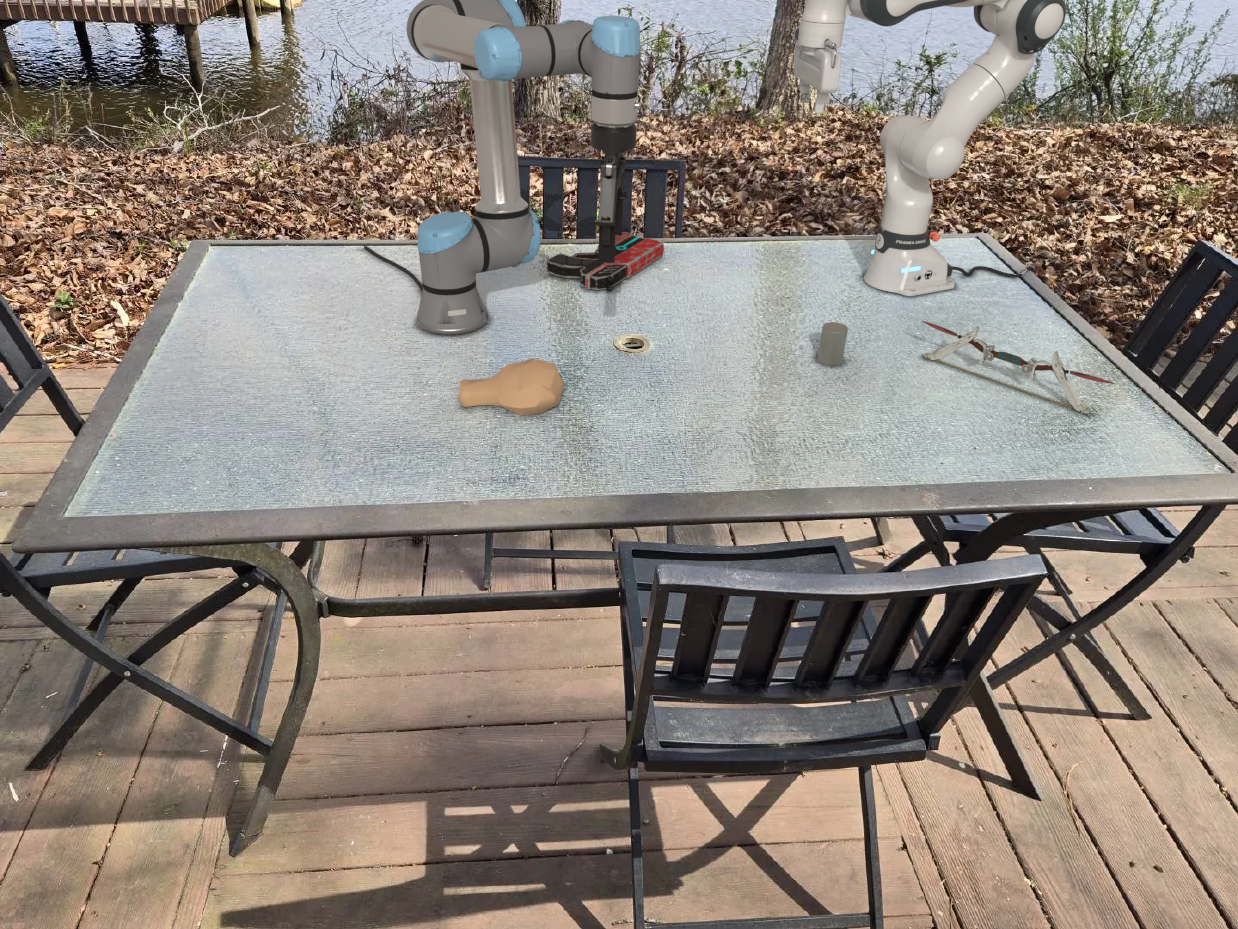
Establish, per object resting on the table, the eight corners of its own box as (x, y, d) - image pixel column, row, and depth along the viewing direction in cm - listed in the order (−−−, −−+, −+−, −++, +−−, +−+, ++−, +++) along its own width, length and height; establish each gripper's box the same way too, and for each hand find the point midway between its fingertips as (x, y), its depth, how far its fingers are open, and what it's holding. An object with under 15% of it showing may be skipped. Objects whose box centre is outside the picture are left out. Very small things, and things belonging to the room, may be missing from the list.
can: (828, 367, 183) (834, 334, 179) (812, 357, 187) (817, 324, 182) (847, 362, 185) (853, 329, 181) (830, 352, 189) (836, 320, 185)
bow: (1102, 416, 168) (1120, 369, 163) (1099, 419, 167) (1116, 372, 162) (916, 351, 190) (927, 308, 184) (912, 354, 189) (923, 311, 183)
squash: (565, 421, 162) (558, 383, 156) (459, 429, 164) (448, 392, 158) (568, 385, 170) (561, 347, 164) (467, 393, 172) (456, 356, 165)
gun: (540, 260, 217) (606, 279, 209) (606, 224, 239) (668, 240, 231) (540, 277, 220) (606, 296, 212) (605, 240, 242) (667, 256, 234)
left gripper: (630, 143, 133) (625, 275, 145) (642, 106, 154) (637, 225, 166) (581, 140, 134) (580, 272, 146) (600, 104, 154) (597, 222, 166)
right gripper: (852, 44, 173) (841, 117, 181) (820, 29, 190) (810, 97, 197) (822, 43, 172) (811, 117, 180) (792, 28, 189) (783, 97, 197)
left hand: (610, 247), depth 156 cm, fingers open, 13 cm apart
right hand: (810, 106), depth 189 cm, fingers open, 8 cm apart
